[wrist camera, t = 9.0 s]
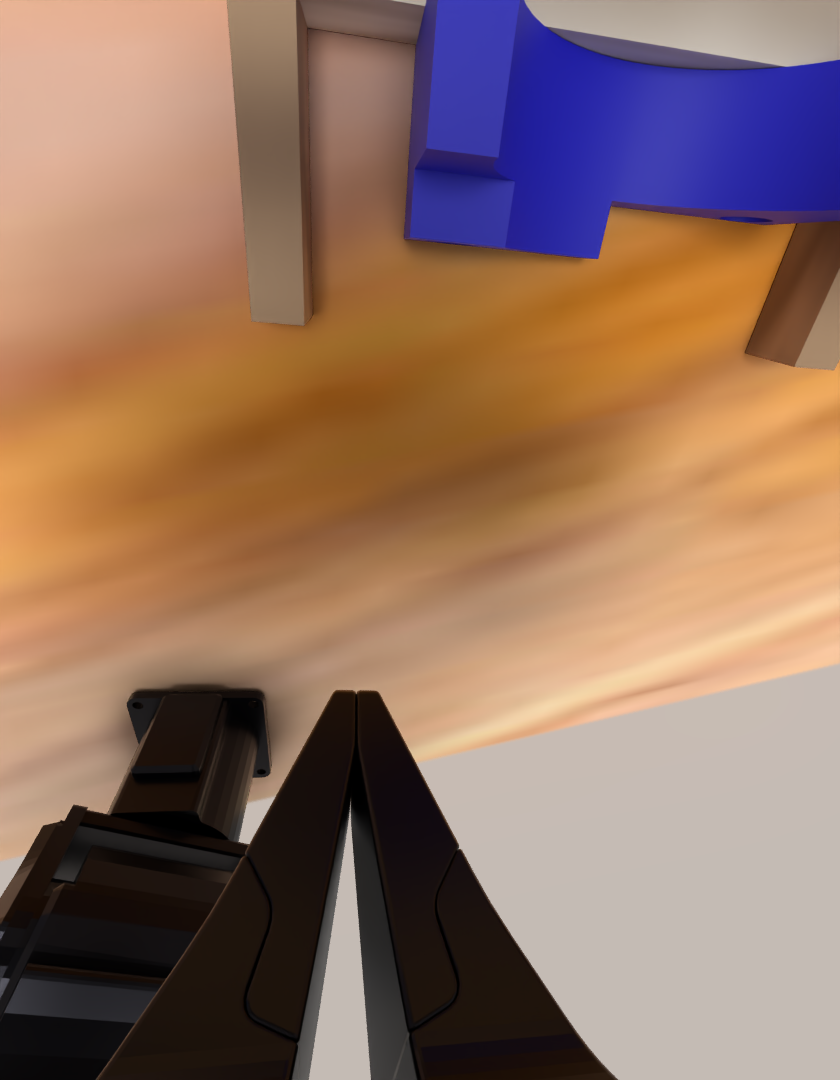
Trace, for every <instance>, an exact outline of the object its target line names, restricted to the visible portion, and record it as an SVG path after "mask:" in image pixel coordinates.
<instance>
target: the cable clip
mask: <svg viewBox="0 0 840 1080" xmlns="http://www.w3.org/2000/svg"><path fill="white" fill-rule="evenodd" d="M611 206H614V207H622V208H630V209H638V210H646V211H654V212H663V213H671V214H679V215H687V216H695V217H704V218H712V219H720V220H728V221H736V222H744V223H753V224H761V225H773V224H791V223H809V222H827V221H840V60H834V61H827V62H821V63H814V64H806V65H798V66H789V67H778V68H765V69H745V70H701V69H683V68H670V67H662V66H653V65H647V64H641V63H635V62H630V61H625V60H621V59H617V58H613V57H609V56H605V55H602V54H599V53H596V52H593V51H590V50H587V49H585V48H582V47H580V46H577V45H575V44H573V43H571V42H569V41H567V40H565V39H563V38H561V37H560V36H558V35H557V34H555V33H553V32H552V31H551V30H549V29H548V28H547V27H545V26H544V25H543V24H542V23H541V22H540V21H539V20H538V19H537V18H536V17H535V16H534V15H533V14H532V12H531V11H530V10H529V8H528V7H527V5H526V3H525V1H524V0H426V4H425V9H424V13H423V17H422V22H421V26H420V30H419V35H418V39H417V43H416V50H415V66H414V82H413V98H412V114H411V130H410V146H409V162H408V178H407V194H406V210H405V226H404V239H409V240H418V241H428V242H437V243H446V244H455V245H465V246H474V247H483V248H493V249H502V250H511V251H521V252H530V253H539V254H548V255H558V256H567V257H576V258H589V259H598V257H599V253H600V249H601V245H602V241H603V236H604V232H605V228H606V224H607V220H608V215H609V211H610V207H611Z"/></svg>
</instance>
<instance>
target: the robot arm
mask: <svg viewBox="0 0 840 1080" xmlns="http://www.w3.org/2000/svg"><path fill="white" fill-rule="evenodd" d="M254 701H256V702H254ZM127 708H128V711H129V714H130V717H131V721H132V724H133V727H134V730H135V734H136V737H137V740H138V743H139V746H138V748H137V750H136V753H135V755H134V757H133V759H132V761H131V763H130V766H129V768H128V770H127V772H126V774H125V776H124V779H123V781H122V783H121V785H120V787H119V789H118V792H117V794H116V796H115V798H114V800H113V802H112V805H111V807H110V809H109V811H108V813H107V814H103V813H99V812H94V811H89V810H87V808H88V807H83V806H78V805H73V807H72V809H71V810H70V812H69V814H68V816H67V818H66V820H65V821H62V820H60V822H57V823H53V824H48V825H44V826H43V827H42V828H41V830H40V832H39V834H38V836H37V837H36V839H35V841H34V843H33V844H32V846H31V848H30V850H29V852H28V853H27V855H26V857H25V859H24V860H23V862H22V864H21V866H20V867H19V869H18V871H17V872H16V874H15V876H14V877H13V879H12V880H11V882H10V883H9V885H8V887H7V888H6V890H5V891H4V893H3V895H2V896H1V898H0V1080H309V1073H310V1067H311V1061H312V1054H313V1048H314V1042H315V1034H316V1028H317V1022H318V1016H319V1009H320V1003H321V996H322V990H323V983H324V977H325V970H326V964H327V957H328V951H329V944H330V938H331V931H332V925H333V918H334V912H335V905H336V899H337V892H338V885H339V879H340V873H341V866H342V859H343V853H344V847H345V840H346V834H347V827H348V820H349V812H350V801H351V827H352V840H353V853H354V866H355V879H356V891H357V905H358V918H359V930H360V943H361V955H362V969H363V981H364V995H365V1008H366V1019H367V1020H366V1021H367V1032H368V1046H369V1058H370V1072H371V1080H618V1079H617V1078H616V1077H615V1076H614V1075H613V1074H612V1073H611V1072H610V1071H609V1070H608V1069H607V1068H606V1067H605V1066H604V1065H603V1064H602V1063H601V1062H600V1061H599V1059H598V1058H597V1057H596V1056H595V1055H594V1053H592V1051H591V1050H590V1049H589V1048H588V1046H587V1045H586V1044H585V1042H584V1041H583V1040H582V1038H581V1037H580V1036H579V1034H578V1033H577V1032H576V1030H575V1029H574V1028H573V1026H572V1025H571V1023H570V1022H569V1020H568V1019H567V1017H566V1016H565V1015H564V1013H563V1011H562V1010H561V1009H560V1007H559V1005H558V1004H557V1003H556V1001H555V999H554V998H553V996H552V995H551V993H550V992H549V991H548V989H547V988H546V986H545V985H544V983H543V982H542V980H541V979H540V977H539V976H538V974H537V973H536V971H535V970H534V968H533V967H532V965H531V964H530V962H529V961H528V959H527V958H526V956H525V955H524V953H523V952H522V950H521V949H520V947H519V946H518V944H517V943H516V941H515V940H514V938H513V937H512V935H511V934H510V932H509V931H508V929H507V927H506V926H505V924H504V923H503V921H502V919H501V918H500V917H499V915H498V913H497V912H496V910H495V908H494V907H493V905H492V904H491V902H490V900H489V899H488V897H487V895H486V893H485V892H484V890H483V888H482V886H481V885H480V883H479V881H478V879H477V877H476V876H475V874H474V872H473V870H472V868H471V866H470V864H469V863H468V861H467V859H466V857H465V855H464V853H463V851H462V850H461V849H458V848H459V844H458V842H457V840H456V838H455V836H454V834H453V833H452V831H451V829H450V827H449V825H448V823H447V821H446V819H445V817H444V815H443V814H442V812H441V810H440V808H439V806H438V804H437V802H436V800H435V798H434V797H433V794H432V793H431V791H430V789H429V787H428V785H427V783H426V781H425V779H424V777H423V775H422V773H421V772H420V770H419V768H418V766H417V764H416V762H415V760H414V758H413V756H412V754H411V752H410V751H409V749H408V747H407V745H406V743H405V741H404V739H403V737H402V735H401V733H400V732H399V730H398V728H397V726H396V724H395V722H394V720H393V718H392V716H391V714H390V712H389V711H388V709H387V707H386V705H385V703H384V701H383V699H382V697H381V695H380V694H379V692H377V691H364V690H360V691H358V692H357V694H356V692H355V691H353V690H336V691H334V693H333V694H332V696H331V697H330V699H329V701H328V703H327V705H326V707H325V708H324V710H323V712H322V714H321V716H320V717H319V719H318V721H317V723H316V725H315V726H314V728H313V730H312V732H311V734H310V736H309V737H308V739H307V741H306V743H305V745H304V746H303V748H302V750H301V752H300V754H299V755H298V757H297V759H296V761H295V763H294V765H293V766H292V768H291V770H290V772H289V774H288V775H287V777H286V779H285V781H284V783H283V784H282V786H281V788H280V790H279V792H278V794H277V795H276V797H275V799H274V801H273V803H272V805H271V806H270V808H269V810H268V812H267V814H266V815H265V817H264V819H263V821H262V823H261V824H260V826H259V828H258V830H257V832H256V834H255V835H254V837H253V839H252V841H251V843H250V844H244V843H240V842H238V841H239V836H240V832H241V827H242V823H243V818H244V813H245V809H246V804H247V800H248V795H249V791H250V786H251V781H252V778H256V777H266V776H268V775H269V774H270V771H271V766H272V765H271V754H270V744H269V734H268V724H267V714H266V704H265V697H264V695H263V694H262V693H260V692H255V691H229V692H136V693H133V694H132V695H131V696H130V698H129V700H128V702H127Z"/></svg>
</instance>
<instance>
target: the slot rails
mask: <svg viewBox="0 0 840 1080" xmlns="http://www.w3.org/2000/svg"><path fill="white" fill-rule="evenodd" d="M524 1H525V3H526V5H527V7H528V8H529V10H530V11H531V12H532V14H533V15H534V16H535V17H536V18H537V19H538V20H539V21H540V22H541V23H542V24H543V25H544V26H545V27H547V28H548V29H549V30H551V31H552V32H553V33H555V34H557V35H558V36H560V37H561V38H563V39H565V40H567V41H569V42H571V43H573V44H575V45H577V46H580V47H582V48H585V49H587V50H590V51H593V52H596V53H599V54H602V55H605V56H609V57H613V58H617V59H621V60H625V61H630V62H635V63H641V64H647V65H653V66H662V67H670V68H683V69H701V70H745V69H765V68H778V67H789V66H798V65H806V64H814V63H821V62H827V61H834V60H840V0H524ZM425 4H426V0H227V8H228V21H229V34H230V47H231V60H232V73H233V87H234V100H235V113H236V126H237V139H238V152H239V165H240V178H241V191H242V204H243V217H244V230H245V243H246V256H247V269H248V282H249V296H250V309H251V321H253V322H265V323H277V324H289V325H301V326H305V324H306V323H307V322H308V321H309V319H310V318H311V317H312V316H313V306H312V251H311V197H310V142H309V88H308V33H307V27H308V28H314V29H320V30H327V31H333V32H339V33H346V34H352V35H358V36H365V37H371V38H377V39H384V40H390V41H396V42H403V43H409V44H415V45H416V43H417V39H418V35H419V30H420V26H421V22H422V17H423V13H424V9H425ZM745 353H747V354H750V355H754V356H757V357H761V358H764V359H768V360H771V361H775V362H778V363H782V364H785V365H789V366H793V367H800V368H812V369H824V370H835V368H836V366H837V364H838V362H839V360H840V221H827V222H809V223H797V226H796V228H795V231H794V233H793V236H792V238H791V241H790V243H789V246H788V248H787V251H786V253H785V255H784V258H783V260H782V263H781V265H780V268H779V270H778V273H777V275H776V278H775V280H774V283H773V285H772V288H771V290H770V293H769V295H768V298H767V300H766V302H765V305H764V307H763V310H762V312H761V315H760V317H759V320H758V322H757V325H756V327H755V330H754V332H753V335H752V337H751V340H750V342H749V345H748V347H747V350H746V352H745Z"/></svg>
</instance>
